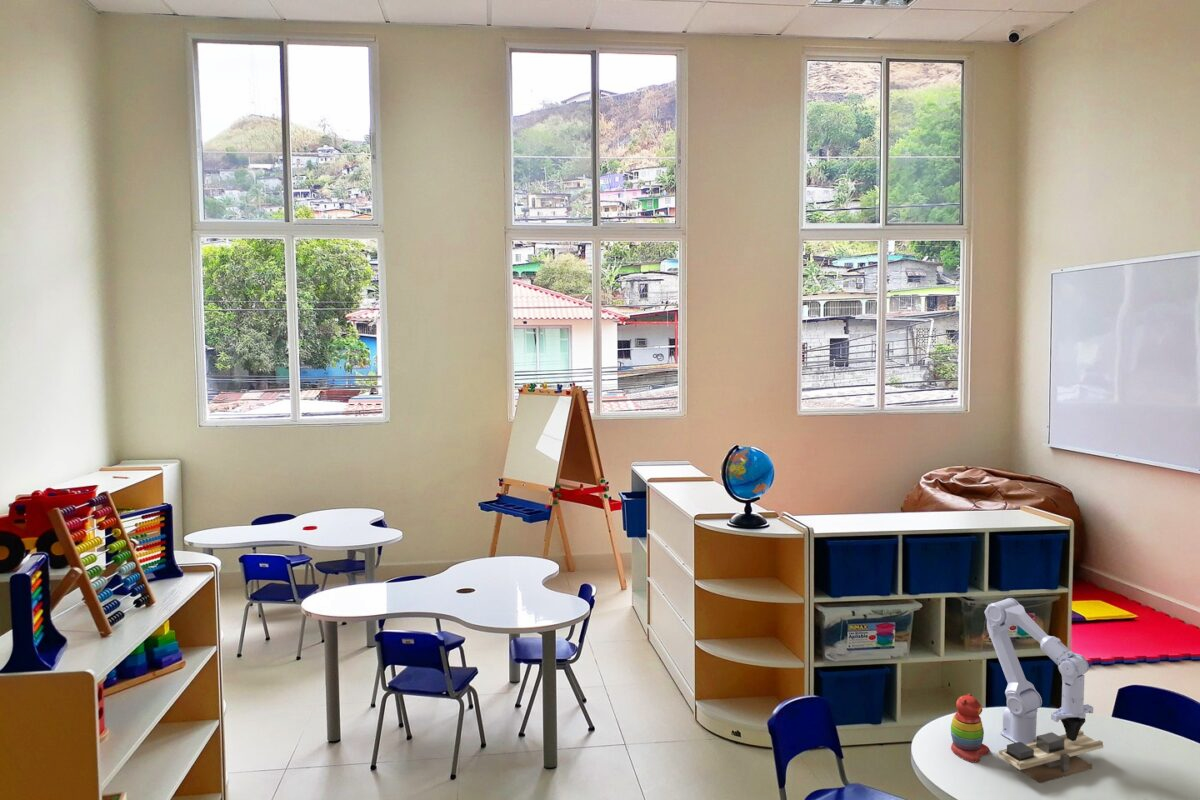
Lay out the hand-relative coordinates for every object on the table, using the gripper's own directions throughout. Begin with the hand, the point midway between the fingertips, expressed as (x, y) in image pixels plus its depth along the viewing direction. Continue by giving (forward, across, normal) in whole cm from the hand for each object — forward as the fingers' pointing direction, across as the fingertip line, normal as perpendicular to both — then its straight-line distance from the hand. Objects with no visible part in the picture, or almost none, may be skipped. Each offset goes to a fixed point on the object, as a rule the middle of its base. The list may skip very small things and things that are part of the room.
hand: (1071, 739), depth 255 cm
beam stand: (+7, -8, 0) cm, 10 cm away
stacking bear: (+7, -24, +16) cm, 30 cm away
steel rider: (+1, -8, 0) cm, 8 cm away
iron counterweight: (+1, -20, 0) cm, 20 cm away
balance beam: (+2, -8, 0) cm, 8 cm away
